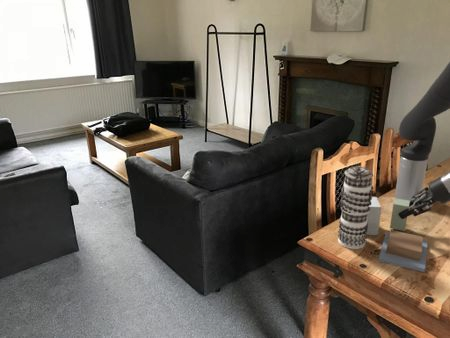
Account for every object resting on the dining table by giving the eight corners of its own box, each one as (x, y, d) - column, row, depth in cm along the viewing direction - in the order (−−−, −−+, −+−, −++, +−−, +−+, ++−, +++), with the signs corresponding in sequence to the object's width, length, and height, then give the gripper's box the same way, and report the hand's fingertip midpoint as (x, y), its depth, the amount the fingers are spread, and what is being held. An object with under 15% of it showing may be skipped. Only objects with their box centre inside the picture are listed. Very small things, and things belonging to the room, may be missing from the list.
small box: (378, 236, 119) (381, 207, 115) (360, 234, 120) (363, 206, 116) (373, 223, 126) (377, 196, 122) (356, 222, 127) (359, 195, 123)
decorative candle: (373, 243, 115) (382, 170, 106) (353, 253, 110) (361, 177, 101) (350, 231, 122) (357, 161, 113) (330, 239, 118) (336, 168, 109)
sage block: (391, 221, 125) (395, 198, 121) (405, 224, 122) (409, 200, 119) (389, 228, 121) (393, 203, 118) (404, 231, 119) (408, 206, 116)
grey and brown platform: (385, 234, 119) (387, 224, 118) (427, 243, 114) (429, 232, 112) (378, 260, 106) (380, 249, 105) (424, 272, 101) (427, 260, 99)
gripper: (442, 168, 116) (395, 195, 126) (441, 185, 104) (390, 213, 114) (458, 186, 115) (410, 212, 125) (459, 205, 104) (406, 232, 114)
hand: (401, 213), depth 120 cm, fingers closed on sage block, 4 cm apart
